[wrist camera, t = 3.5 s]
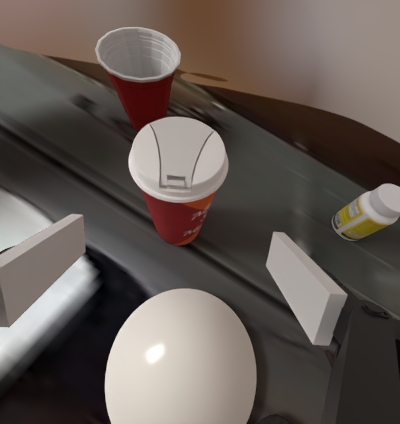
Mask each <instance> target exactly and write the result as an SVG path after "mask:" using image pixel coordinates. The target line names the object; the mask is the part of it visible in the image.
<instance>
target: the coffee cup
mask: <svg viewBox="0 0 400 424" xmlns="http://www.w3.org/2000/svg"><path fill="white" fill-rule="evenodd" d="M128 161H129V169H130V173H131V175H132V177H133V179H134V181H135V182H136V184H137V185H138V186H139V187H140V188H141V190H142V193H143V196H144V198H145V201H146V204H147V206H148V209H149V212H150V214H151V217H152V219H153V222H154V224H155V227H156V229H157V232H158V233H159V235H160V237H161V238H162V239H163V240H164V241H165V242H167V243H169V244H172V245H185V244H188V243H190V242H191V241H192V240H194V239H195V237H196V236H197V235H198V233H199V231H200V229H201V226H202V224H203V222H204V219H205V217H206V214H207V212H208V209H209V207H210V204H211V202H212V199H213V197H214V195H215V192H216V190H217V189H218V188H219V187H220V186H221V184H222V183H223V182H224V180H225V178H226V175H227V172H228V158H227V154H226V151H225V146H224V143H223V141H222V139H221V137H220V136H219V135H218V133H217V132H216V131H214V130H213V129H212V128H210V127H209V126H207V125H206V124H204V123H202V122H200V121H198V120H195V119H191V118H186V117H167V118H163V119H159V120H156V121H154V122H151V123H150V124H147V125H146V126H145V127H143V128H142V129H141V130H140V131H139V133H138V134H137V136H136V137H135V139H134V142H133V145H132V149H131V151H130V154H129V160H128Z"/></svg>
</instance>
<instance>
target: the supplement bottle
mask: <svg viewBox="0 0 400 424" xmlns="http://www.w3.org/2000/svg"><path fill="white" fill-rule="evenodd" d="M399 216H400V187H398V186H396V185H393V184H383V185H381V186H380V187H378V188H376V189H375V190H373V191H369V192H366V193H364V194H362V195H361V196H359V197H358V198H357V199H355V200H354V201H352V202H351V203H350V204H348V205H347V206H345V207H344V208H343V209H341V210H340V211H339V212H337V213H336V214H335V215H334V216H333V218H332V226H333V229H334V230H335V232H336V233H337V234H338V235H339V236H341V237H342V238H344V239H346V240H349V241H356V240H359V239H361V238H363V237H365V236H368V235H370V234H372V233H374V232H376V231H378V230H380V229H382V228H384V227H387V226H389V225H391V224H393V223H394V222H396V221H397V219H398V217H399Z"/></svg>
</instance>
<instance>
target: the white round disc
mask: <svg viewBox="0 0 400 424" xmlns="http://www.w3.org/2000/svg"><path fill="white" fill-rule="evenodd" d="M256 382H257V379H256V362H255V355H254V351H253V347H252V344H251V341H250V338H249V335H248V333H247V331H246V329H245V327H244V325H243V324H242V322H241V320H240V319H239V318H238V316H237V315H236V314H235V312H234V311H233V310H232V309H231V308H230V307H229V306H228V305H227V304H225V303H224V302H223V301H222V300H220V299H218V298H217V297H215V296H213V295H211V294H209V293H207V292H204V291H200V290H196V289H174V290H169V291H166V292H163V293H160V294H158V295H156V296H154V297H152V298H150V299H149V300H147V301H146V302H144V303H143V304H142V305H141V306H139V307H138V308H137V309H136V310H135V311H134V312H133V313H132V314H131V315H130V317H129V318H128V319H127V320H126V322H125V323H124V325H123V326H122V328H121V329H120V331H119V333H118V335H117V337H116V339H115V341H114V343H113V346H112V349H111V351H110V355H109V359H108V363H107V369H106V375H105V396H106V405H107V410H108V415H109V418H110V421H111V424H246V423H247V421H248V419H249V416H250V413H251V410H252V407H253V403H254V398H255V392H256Z"/></svg>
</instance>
